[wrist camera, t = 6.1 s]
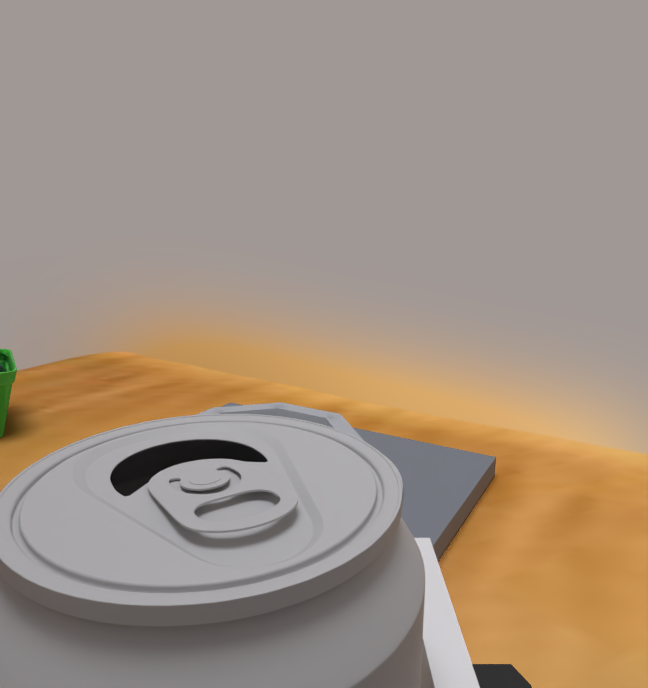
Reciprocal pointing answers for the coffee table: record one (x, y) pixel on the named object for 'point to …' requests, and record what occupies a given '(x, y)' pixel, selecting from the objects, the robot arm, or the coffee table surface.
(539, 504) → the coffee table surface
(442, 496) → the board
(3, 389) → the fruit basket
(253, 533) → the beverage can
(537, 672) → the coffee table surface
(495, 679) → the robot arm
